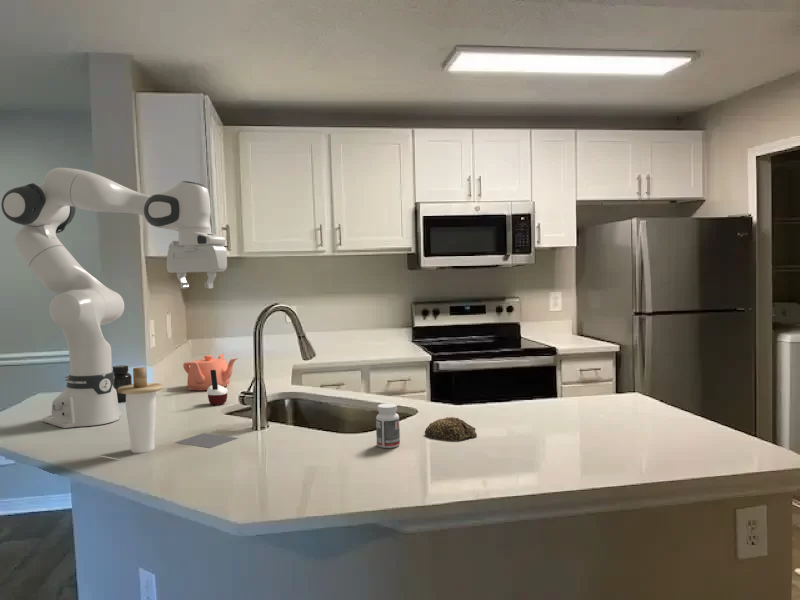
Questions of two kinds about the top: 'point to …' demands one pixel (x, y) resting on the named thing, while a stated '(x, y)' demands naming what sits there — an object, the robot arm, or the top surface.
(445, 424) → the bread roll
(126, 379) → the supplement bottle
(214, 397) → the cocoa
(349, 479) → the top surface
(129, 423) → the drinking glass
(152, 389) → the lid
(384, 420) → the pill bottle
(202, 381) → the pot
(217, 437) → the mat
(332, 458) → the top surface
